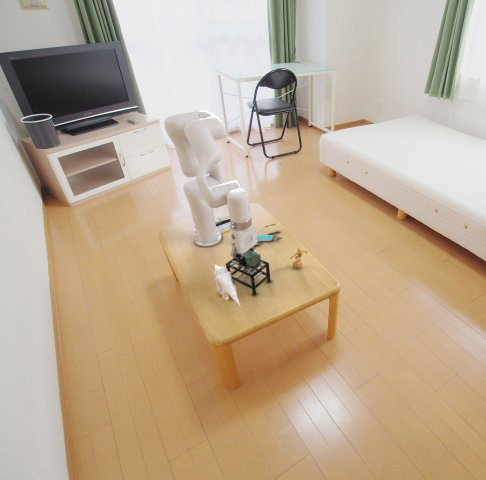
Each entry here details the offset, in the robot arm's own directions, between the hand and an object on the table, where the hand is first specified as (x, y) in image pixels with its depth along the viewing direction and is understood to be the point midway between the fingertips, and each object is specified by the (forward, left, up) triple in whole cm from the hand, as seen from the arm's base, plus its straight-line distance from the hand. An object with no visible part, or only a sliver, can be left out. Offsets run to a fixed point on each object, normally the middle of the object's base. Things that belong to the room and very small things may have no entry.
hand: (246, 260), depth 134 cm
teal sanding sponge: (0, 0, -1) cm, 1 cm away
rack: (0, 0, -11) cm, 11 cm away
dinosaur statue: (-1, -11, -12) cm, 16 cm away
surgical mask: (-16, +26, -12) cm, 33 cm away
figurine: (+12, +18, -12) cm, 24 cm away
